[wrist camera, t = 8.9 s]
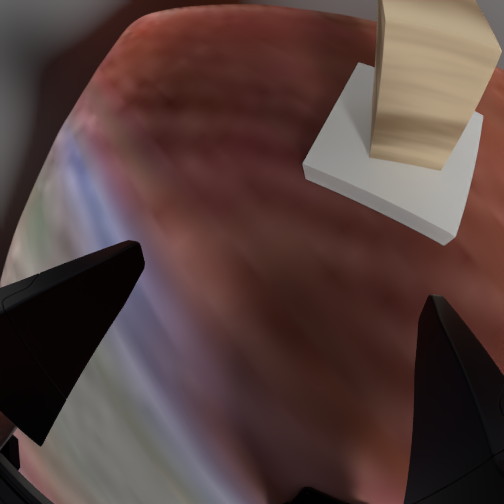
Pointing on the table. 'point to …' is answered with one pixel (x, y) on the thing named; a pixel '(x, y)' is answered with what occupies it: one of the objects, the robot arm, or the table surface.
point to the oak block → (428, 77)
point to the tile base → (390, 167)
